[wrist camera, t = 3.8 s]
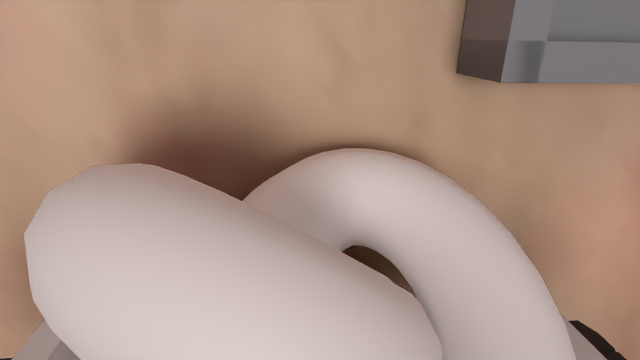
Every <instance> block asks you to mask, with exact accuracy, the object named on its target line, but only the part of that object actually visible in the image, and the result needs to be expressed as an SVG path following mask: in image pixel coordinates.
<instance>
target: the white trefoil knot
mask: <svg viewBox="0 0 640 360" xmlns="http://www.w3.org/2000/svg"><path fill="white" fill-rule="evenodd" d="M24 239H25V248H26V257H27V266H28V275H29V282H30V287H31V293H32V298H33V301H34V303H35V304H36V306H37V308H38V309H39V311H40V312H41V314H42V316H43V317H44V319H45V320H46V322H47V324H48V325H49V327H50V328H51V330H52V331H53V332H54V333H55V334H56V335H57V336H58V337H59V338H60V339H61V340H62V341H63V342H64V343H65V344H66V345H67V346H68V347H69V348H70V349H71V350H72V351H73V352H74V353H75V354H76V356H77V357H78V358H79V359H80V360H577V359H576V356H575V353H574V350H573V347H572V344H571V341H570V338H569V334H568V331H567V328H566V325H565V323H564V321H563V319H562V317H561V315H560V313H559V311H558V309H557V307H556V305H555V303H554V301H553V299H552V297H551V295H550V293H549V291H548V289H547V287H546V285H545V283H544V281H543V279H542V277H541V275H540V274H539V272H538V271H537V269H536V268H535V267H534V265H533V264H532V262H531V261H530V259H529V258H528V257H527V255H526V254H525V252H524V251H523V249H522V248H521V247H520V245H519V244H518V242H517V241H516V239H515V238H514V237H513V235H512V234H511V233H510V232H509V231H508V230H507V229H506V227H505V226H504V225H503V224H502V223H501V222H500V221H499V220H498V219H497V218H496V217H495V216H494V215H493V214H492V213H491V212H490V211H489V209H488V208H487V207H486V206H485V205H484V204H483V203H482V202H481V201H479V200H478V199H477V198H476V197H474V196H473V195H472V194H470V193H469V192H468V191H467V190H465V189H464V188H463V187H461V186H460V185H459V184H458V183H456V182H455V181H454V180H452V179H451V178H449V177H448V176H446V175H444V174H442V173H440V172H438V171H437V170H435V169H433V168H431V167H429V166H427V165H426V164H424V163H422V162H419V161H416V160H413V159H410V158H408V157H405V156H402V155H399V154H396V153H393V152H387V151H380V150H374V149H368V148H347V149H338V150H332V151H326V152H322V153H319V154H316V155H313V156H310V157H307V158H305V159H303V160H301V161H299V162H297V163H295V164H293V165H292V166H290V167H288V168H286V169H285V170H283V171H282V172H280V173H278V174H276V175H275V176H273V177H271V178H269V179H268V180H266V181H265V182H264V183H262V184H261V185H259V186H258V187H257V188H256V189H254V190H253V191H252V192H251V193H250V194H249V195H248V196H246V197H245V199H244V200H243V201H240V200H238V199H236V198H234V197H232V196H230V195H228V194H226V193H224V192H222V191H219V190H217V189H215V188H212V187H210V186H208V185H206V184H203V183H201V182H199V181H196V180H194V179H192V178H189V177H187V176H185V175H182V174H179V173H176V172H173V171H170V170H167V169H164V168H162V167H159V166H155V165H149V164H142V163H133V164H114V165H96V166H91V167H90V168H88V169H86V170H84V171H83V172H81V173H79V174H77V175H76V176H74V177H72V178H71V179H69V180H67V181H65V182H64V183H62V184H60V185H58V186H57V187H55V188H53V189H51V190H50V191H48V193H47V195H46V197H45V198H44V200H43V202H42V204H41V205H40V207H39V209H38V211H37V212H36V214H35V216H34V218H33V219H32V221H31V223H30V225H29V226H28V228H27V230H26V231H25V233H24ZM353 245H358V246H363V247H368V248H370V249H372V250H374V251H377V252H378V253H380V254H381V255H383V256H384V257H385V258H387V259H388V260H390V261H391V262H392V263H393V264H394V265H395V266H396V267H397V268H398V270H399V271H400V272H401V273H402V275H403V276H404V278H405V279H406V281H407V282H408V284H409V285H410V287H411V288H412V289H413V291H414V293H415V296H416V298H415V297H414V296H413V295H412V294H411V293H409V292H408V291H406V290H404V289H403V288H401V287H399V286H397V285H396V284H394V283H393V282H392V281H391V280H390V279H389V278H388V277H386V276H384V275H383V274H381V273H379V272H377V271H375V270H374V269H372V268H370V267H368V266H366V265H364V264H362V263H361V262H359V261H357V260H355V259H353V258H351V257H349V256H348V255H346V254H344V253H342V251H344V250H345V249H347V248H348V247H350V246H353Z"/></svg>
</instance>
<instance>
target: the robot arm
mask: <svg viewBox="0 0 640 360" xmlns="http://www.w3.org/2000/svg"><path fill="white" fill-rule="evenodd" d="M559 313H560V312H559ZM560 315H561V317H562V319H563V321H564V323H565V325H566V328H567V331H568V334H569V338H570V341H571V344H572V347H573V350H574V353H575V356H576V359H577V360H626V359H625V358H624V357H623V356H622V355H621V354H620V353H619V352H616V351H615V349H614V348H613V347H612V346H611V345H610V344H609V343H608V342H607V341H606V340H605V339H604V338H603V337H602V336H601V335H599V334H598V333H597V332H595V331H594V330H592V329H590V328H589V327H587V326H586V325H584V324H582V323H581V322H579V321H578V320H576V321H568V320H567V319H566V318H565V317H564V316H563V315H562V314H561V313H560ZM0 360H80V359H79V358H78V357H77V356H76V354H75V353H74V352H73V351H72V350H71V349H70V348H69V347H68V346H67V345H66V344H65V343H64V342H63V341H62V340H61V339H60V338H59V337H58V336H57V335H56V334H55V333H54V332H53V331H52V330H51V328H50V327H49V325H48V324H47V322H46V320H45V319H44V321H43V322H42V323H41V324H40V325H39V327H38V328H37V329H36V330H35V331H34V333H33V334H32V335H31V336H30V338H29V339H28V340H27V341H26V342H25V344H24V345H23V346H22V347H21V349H20V350H19V351H18V352H17V353H16V355H15V356H14V357H13V358H6V359H0Z"/></svg>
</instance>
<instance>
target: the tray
mask: <svg viewBox="0 0 640 360" xmlns="http://www.w3.org/2000/svg"><path fill="white" fill-rule="evenodd" d="M457 73H458V74H463V75H467V76H472V77H477V78H481V79H486V80H491V81H495V82H500V83H640V0H467V4H466V11H465V18H464V25H463V32H462V39H461V46H460V53H459V59H458V66H457Z"/></svg>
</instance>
